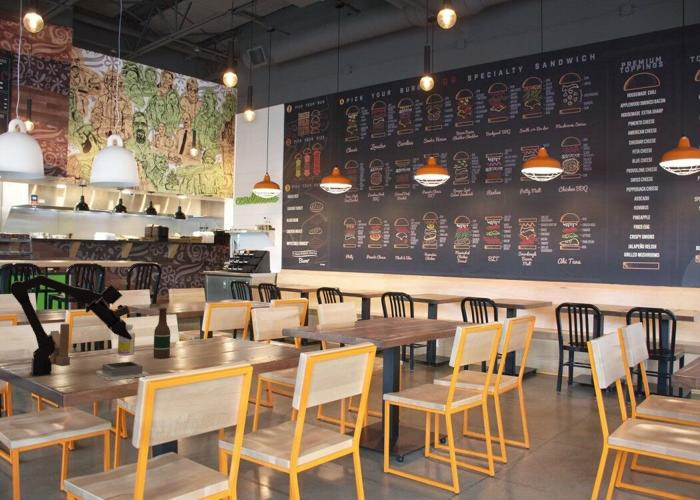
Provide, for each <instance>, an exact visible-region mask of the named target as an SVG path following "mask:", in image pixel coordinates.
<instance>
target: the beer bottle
mask: <svg viewBox="0 0 700 500" xmlns="http://www.w3.org/2000/svg"><path fill="white" fill-rule="evenodd" d="M158 310H159V314H158V323H157V325H156V326H155V329H154V332H153V351H152V352H153V359H158V360H161V359H164V360H165V359H169V358H170V355H171V352H170V351H171V330H170V327H169V325H168V321H167V320H168V319H167V311H168V309H167V307H165V306H164V307H159V309H158Z"/></svg>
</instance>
